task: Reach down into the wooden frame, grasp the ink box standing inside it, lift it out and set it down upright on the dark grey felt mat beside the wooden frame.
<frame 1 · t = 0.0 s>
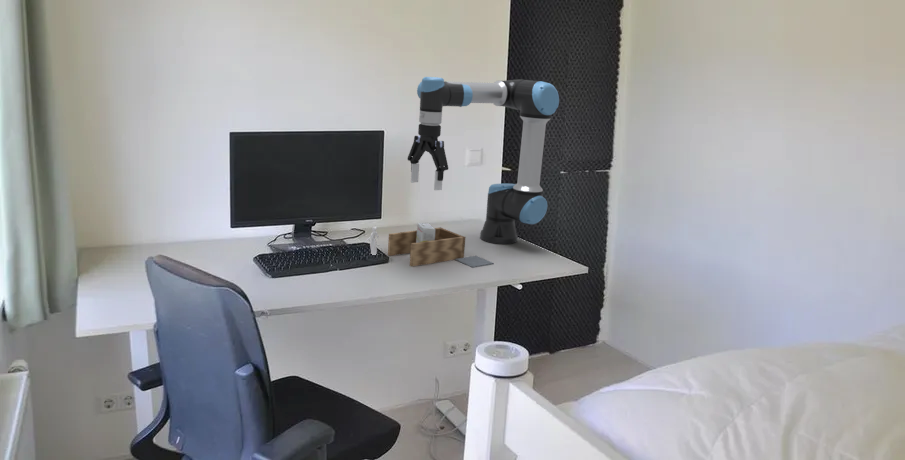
hand: (425, 186, 244), 28 cm above the table, fingers open, 13 cm apart
figurine: (372, 258, 253), on the table
wooden frame: (422, 257, 259), on the table
mat: (474, 262, 258), on the table
ink box: (424, 257, 259), resting in wooden frame
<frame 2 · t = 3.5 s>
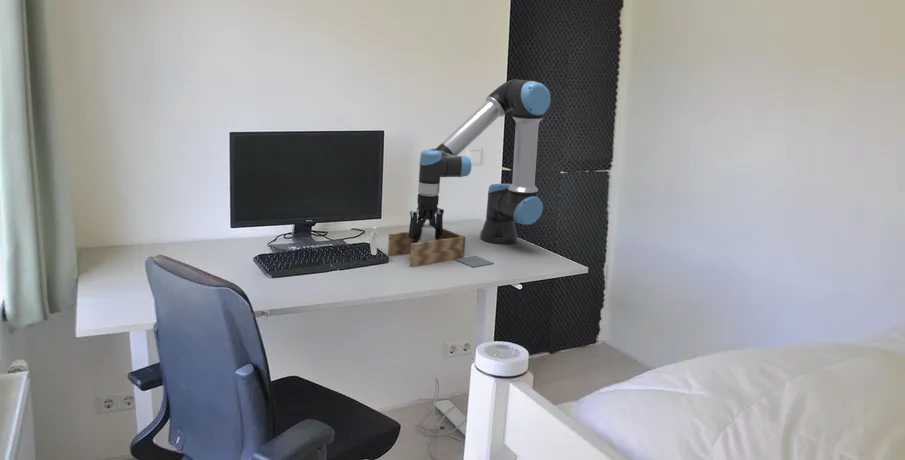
hand: (424, 255, 259), 0 cm above the table, fingers closed on ink box, 6 cm apart
ink box: (424, 257, 259), resting in wooden frame, touching gripper
everything else where it was.
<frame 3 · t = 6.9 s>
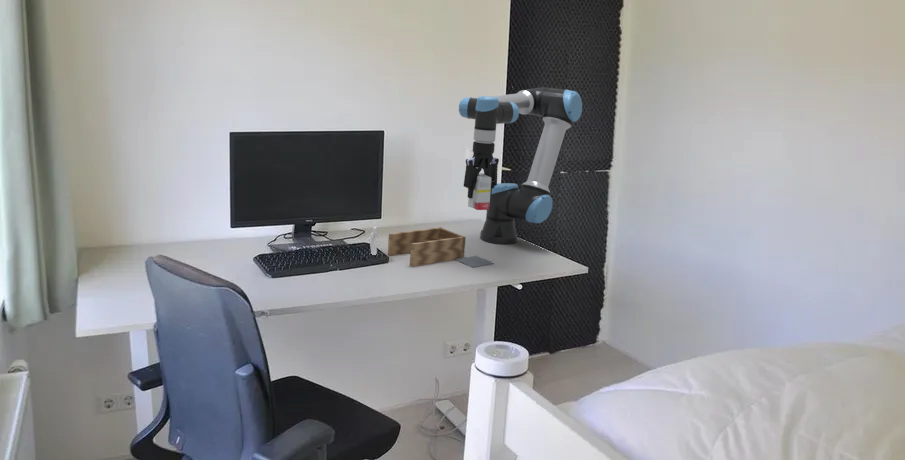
hand: (478, 206, 252), 21 cm above the table, fingers closed on ink box, 6 cm apart
ink box: (478, 208, 253), point 20 cm above the table, touching gripper
everything else where it was.
when the fingers open (2 cm above the table, at t = 10.7 s): ink box drops 1 cm, resting on mat.
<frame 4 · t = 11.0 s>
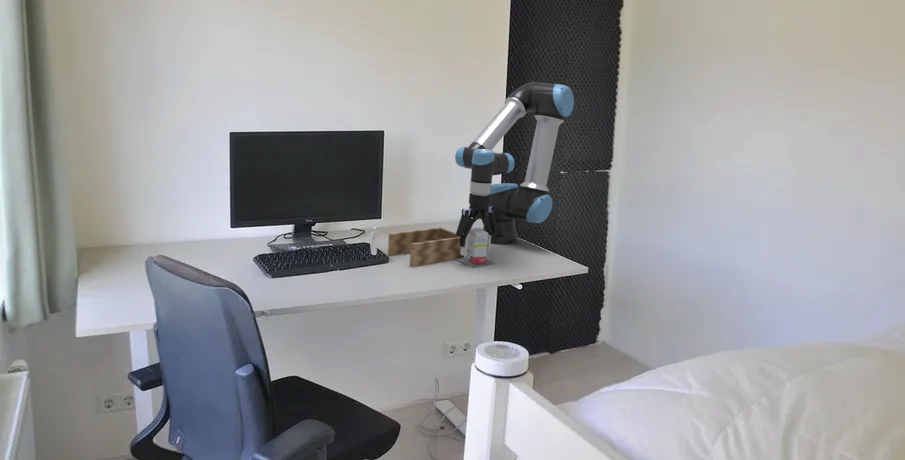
hand: (475, 253, 257), 3 cm above the table, fingers open, 10 cm apart
ink box: (474, 261, 258), resting on mat
everything else where it was.
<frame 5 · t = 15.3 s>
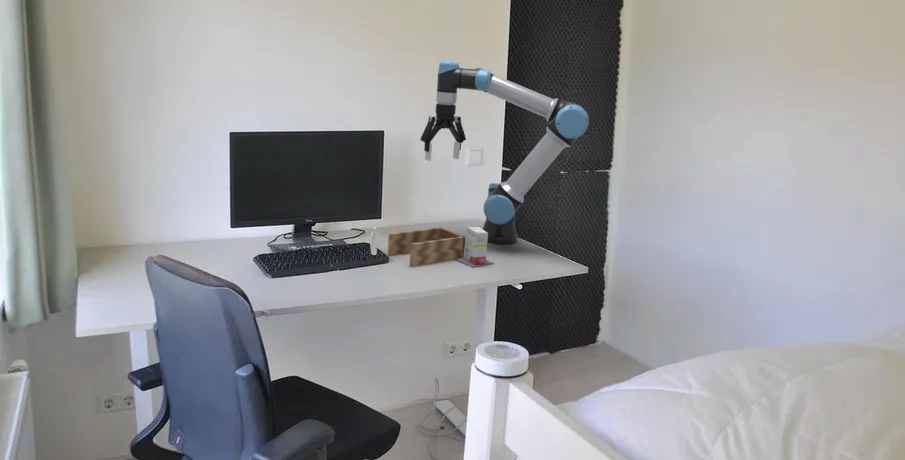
hand: (442, 159, 273), 33 cm above the table, fingers open, 13 cm apart
nothing on the table moved.
at the end: ink box inside the target area on the mat (0.2 cm from its centre), point 0.2 cm above the mat's base; ink box tilted 0°; the gripper is holding nothing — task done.
